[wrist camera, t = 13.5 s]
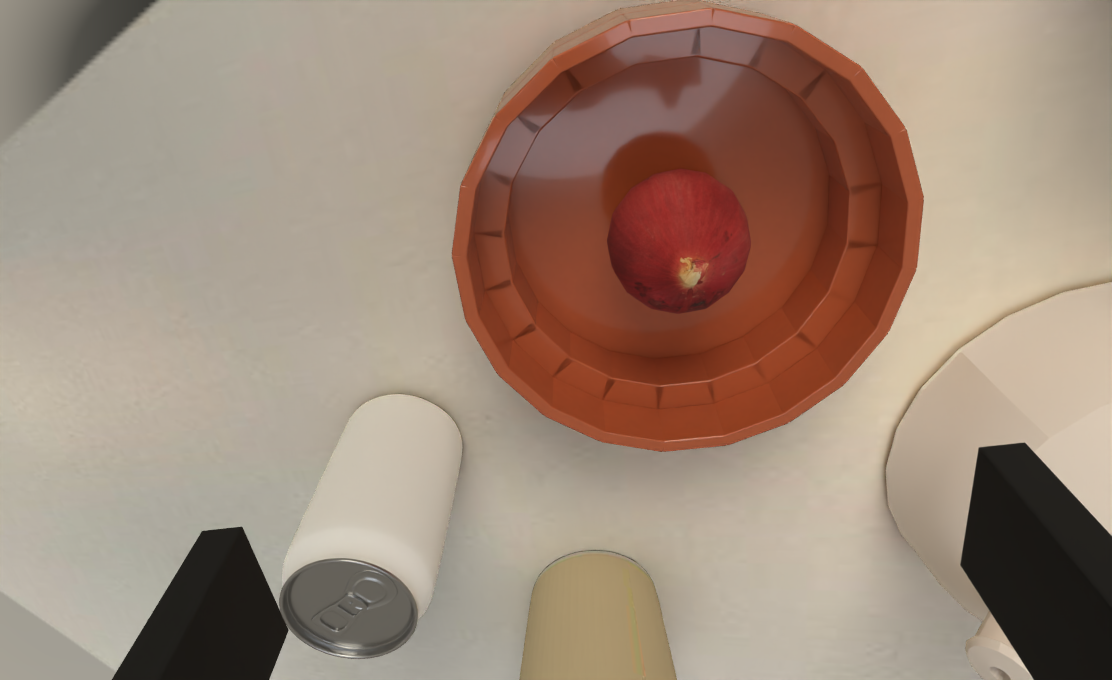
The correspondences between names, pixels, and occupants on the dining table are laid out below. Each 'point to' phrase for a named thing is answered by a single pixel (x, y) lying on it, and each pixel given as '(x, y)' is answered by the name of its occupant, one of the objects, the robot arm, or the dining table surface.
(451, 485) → the can
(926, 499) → the kettle
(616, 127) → the bowl
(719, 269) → the onion
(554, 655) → the coffee cup
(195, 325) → the dining table surface
